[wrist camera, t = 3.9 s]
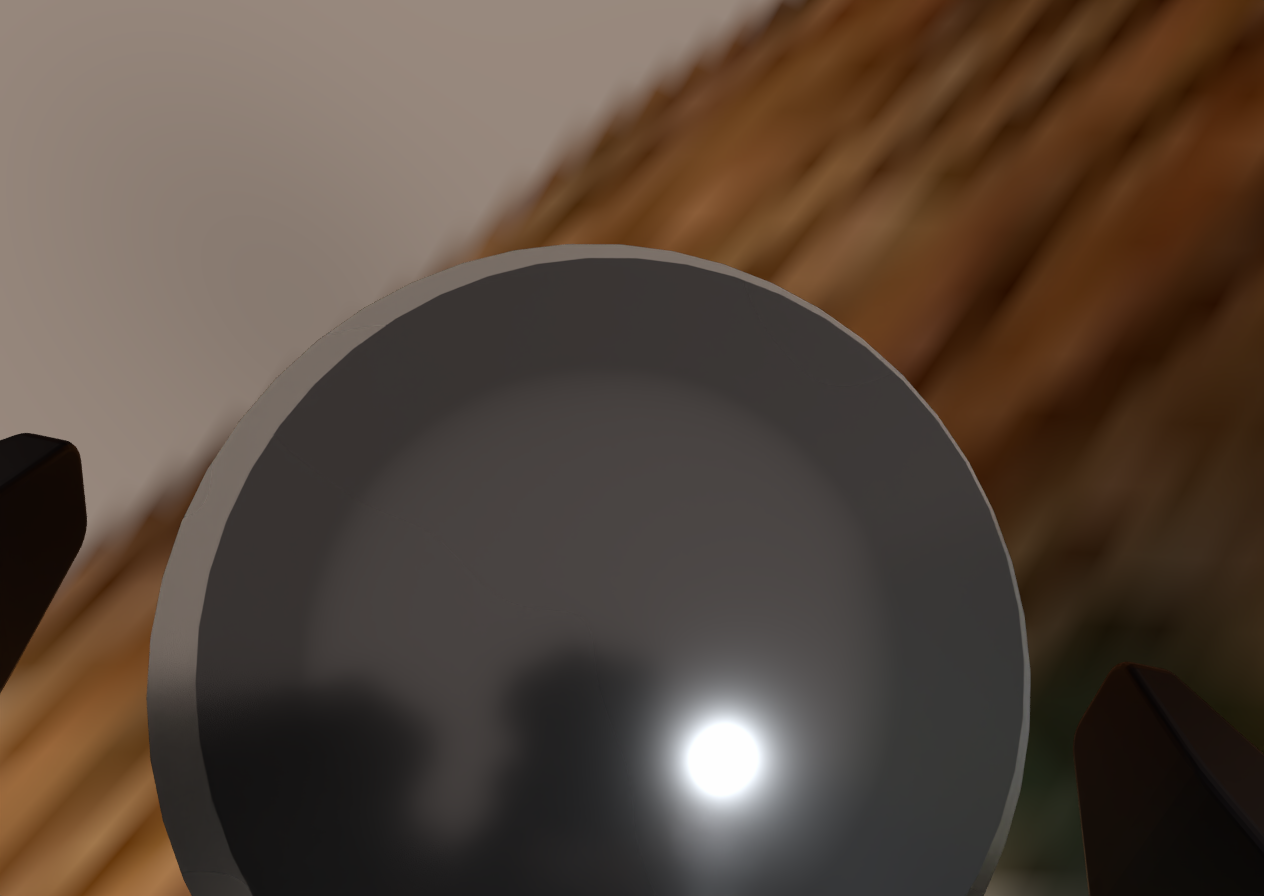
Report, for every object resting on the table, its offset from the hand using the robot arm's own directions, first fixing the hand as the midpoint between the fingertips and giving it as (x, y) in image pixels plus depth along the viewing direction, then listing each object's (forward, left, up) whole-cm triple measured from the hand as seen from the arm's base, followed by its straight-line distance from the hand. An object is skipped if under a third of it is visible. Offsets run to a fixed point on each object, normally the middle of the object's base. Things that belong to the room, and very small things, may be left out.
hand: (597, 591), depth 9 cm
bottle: (0, +1, -7) cm, 8 cm away
